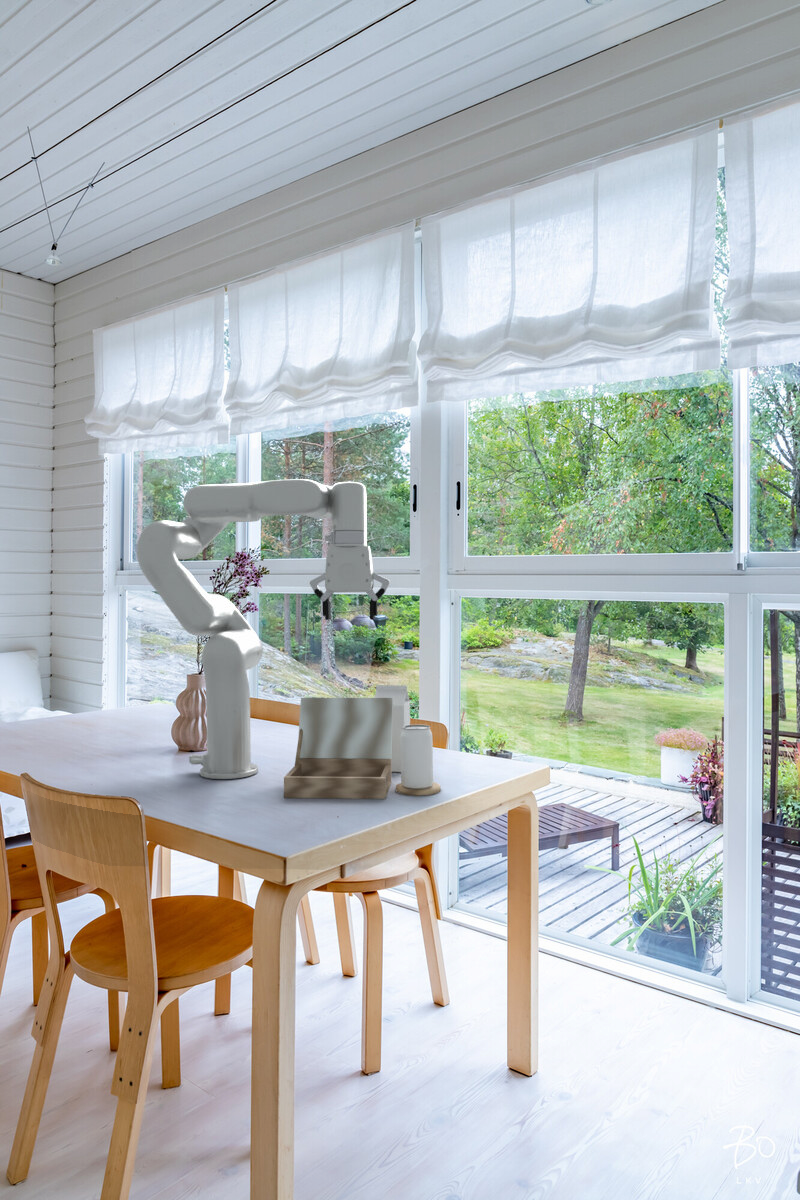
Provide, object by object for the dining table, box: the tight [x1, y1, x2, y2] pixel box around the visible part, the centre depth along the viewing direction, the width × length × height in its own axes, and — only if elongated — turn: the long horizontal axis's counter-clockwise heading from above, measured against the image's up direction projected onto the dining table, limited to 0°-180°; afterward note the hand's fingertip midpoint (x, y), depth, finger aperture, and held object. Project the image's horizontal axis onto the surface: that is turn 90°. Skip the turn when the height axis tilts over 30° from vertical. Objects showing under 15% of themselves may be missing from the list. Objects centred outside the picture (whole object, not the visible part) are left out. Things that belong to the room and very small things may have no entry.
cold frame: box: [283, 697, 393, 800], centre depth 165 cm, size 20×18×17 cm
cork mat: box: [395, 781, 441, 797], centre depth 162 cm, size 9×9×1 cm
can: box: [400, 724, 434, 789], centre depth 162 cm, size 6×6×12 cm
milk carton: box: [373, 684, 411, 773], centre depth 181 cm, size 7×7×19 cm
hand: (350, 619), depth 172 cm, fingers open, 9 cm apart
